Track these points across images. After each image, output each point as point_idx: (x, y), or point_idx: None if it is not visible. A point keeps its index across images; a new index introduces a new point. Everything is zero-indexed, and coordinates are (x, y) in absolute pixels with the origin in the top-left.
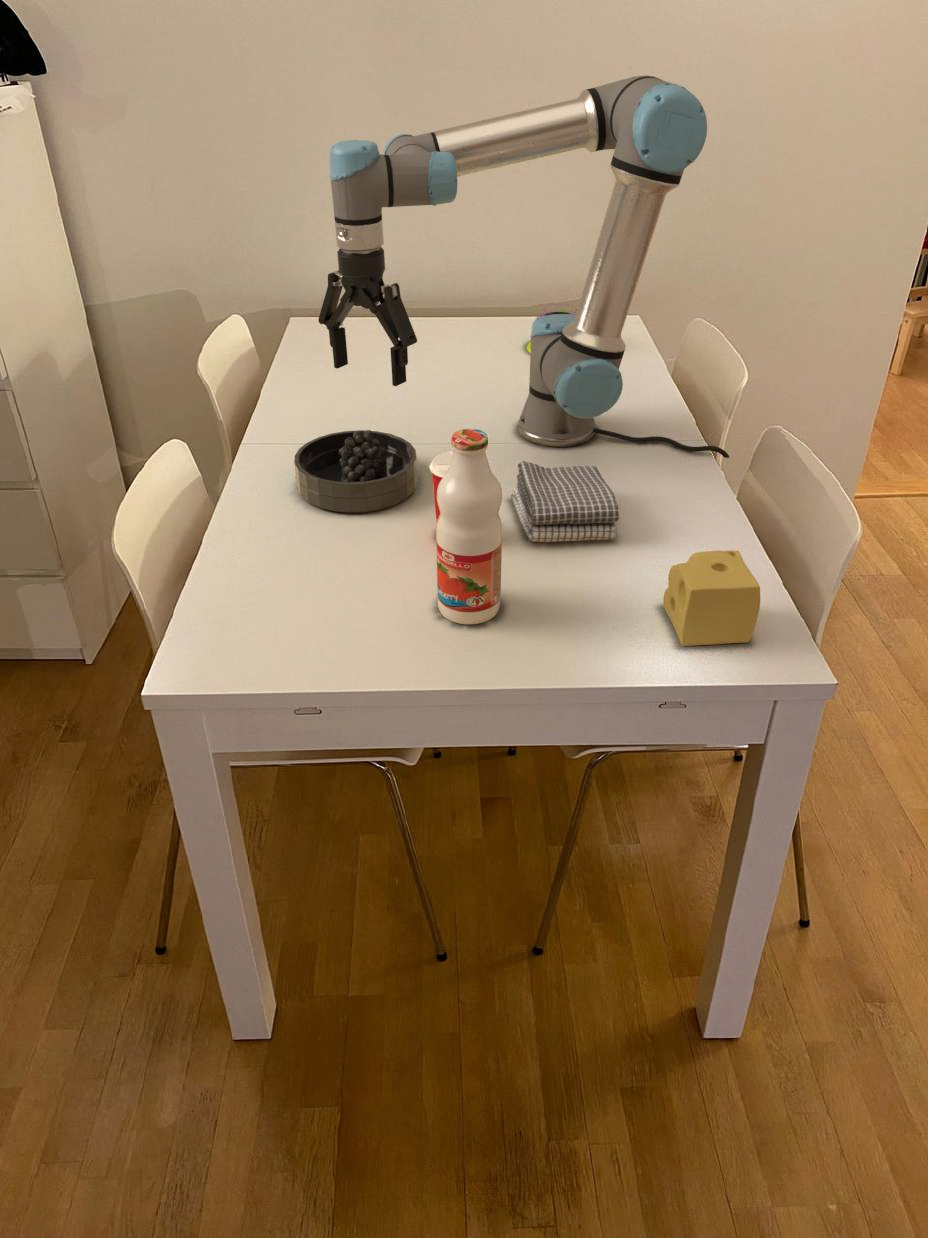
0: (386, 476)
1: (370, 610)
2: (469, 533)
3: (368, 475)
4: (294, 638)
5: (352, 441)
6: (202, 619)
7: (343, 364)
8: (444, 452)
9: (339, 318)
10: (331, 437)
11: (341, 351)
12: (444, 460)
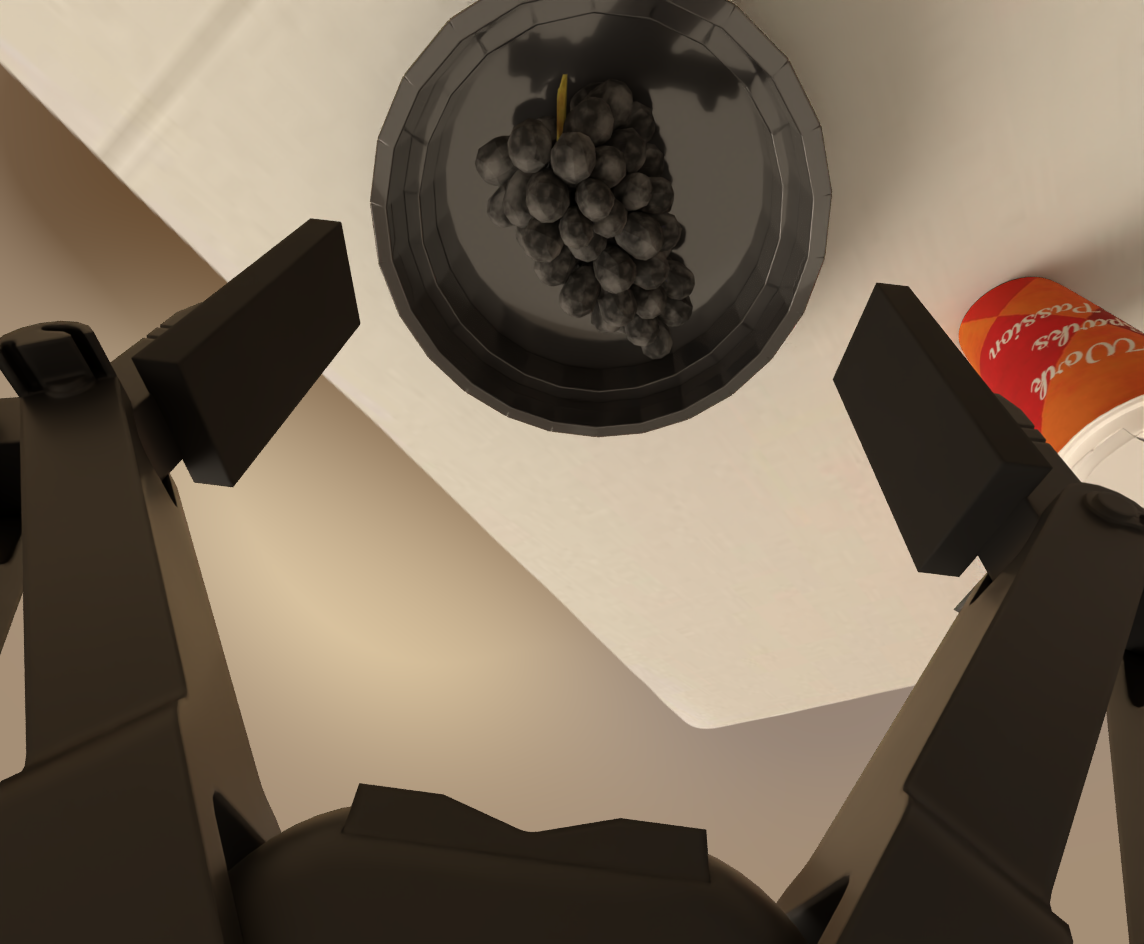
0: (659, 121)
1: (887, 582)
2: None
3: (682, 298)
4: (797, 650)
5: (559, 250)
6: (651, 660)
7: (345, 271)
8: (1124, 443)
9: (197, 572)
10: (396, 158)
11: (306, 326)
12: (1129, 490)
